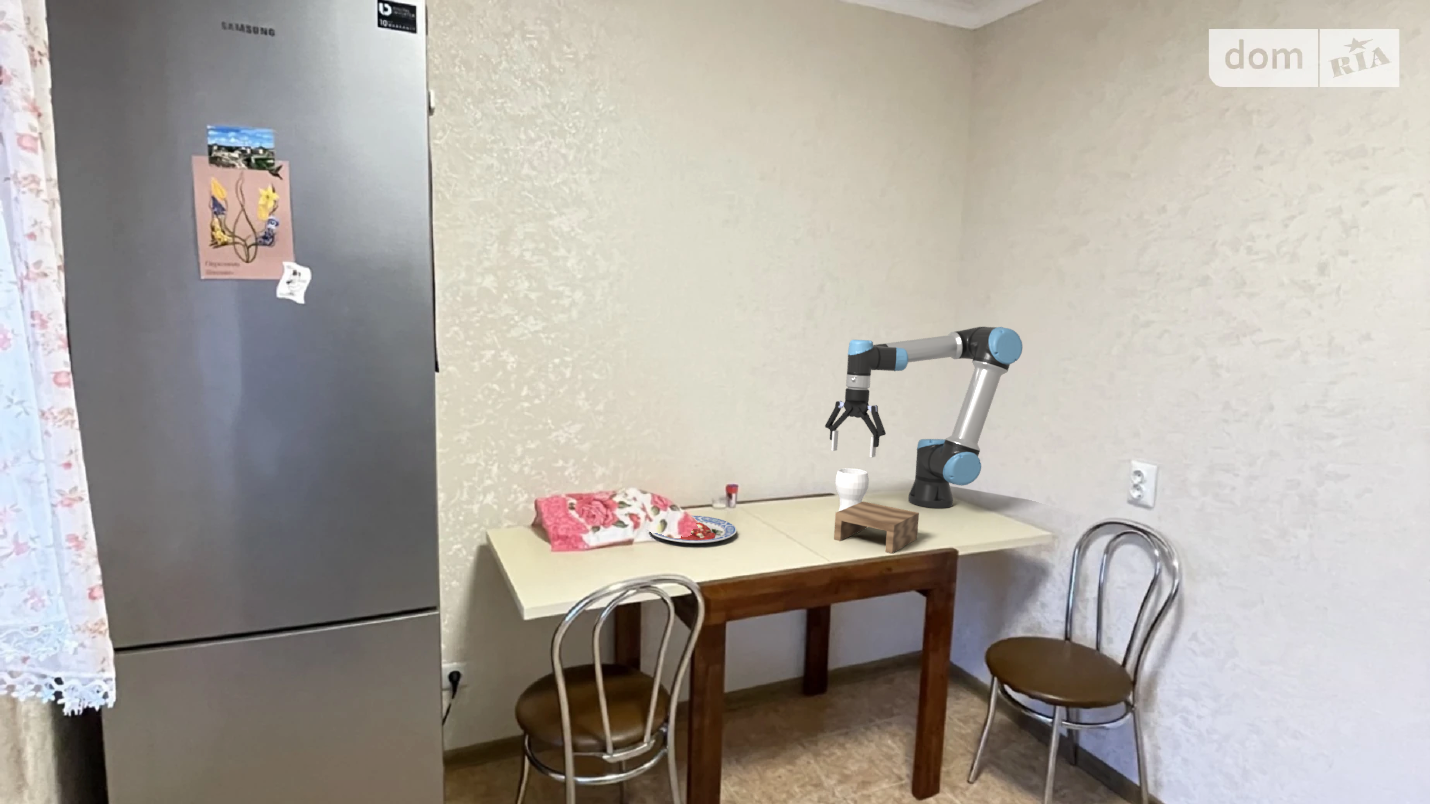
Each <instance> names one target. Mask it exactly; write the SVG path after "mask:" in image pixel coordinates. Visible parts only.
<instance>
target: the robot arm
mask: <svg viewBox="0 0 1430 804" xmlns="http://www.w3.org/2000/svg"><path fill="white" fill-rule="evenodd" d="M1022 353H1023V341H1022V338H1021V337H1020V334H1018V333H1017V332H1016V331H1015V330H1014V329H1011V328H1008V327H1003V326H998V327H997V326H996V327H995V326H977V327H971V328H968V329H963V330H956V331H951V332H950V333H949V334H948V335H941V336H931V337H925V338H919V339H918V338H917V339H910V340H909V339H908V340H902V341H901V340H900V341H893V342H886V343H876V344H874V341H872V340H869V339H868V340H867V339H851V340H850V341H849V344H848V350H847V368H846V380H845V381H846V383H845V386H846V389H845V392H844V393H845V394H844V395H845V396H844V402H843V401H842V400H836V401H835V403H834V404H835V406H834V408H833V410H832V412H831V414H830V415H829V417H828V419H827V421H826V423H825V425H824V427H825V428H826V429H828V430H829V441H831V449H830V451H831V452H835V451H838V444H839V443H838V440H839V430H838V428H839V427H840V426H841V425H842V424H843V423H844V422H845V421H846V420H847V418H849V417H850V418H851V417H852V418H857V419H859V418H861V420H862V421H863V422H864V424H865V425H866V427H867V428H868V430H869V431H870V433H871V435H872V436H871V437H870V445H869V446H870V448H869V458H875V457H876V453H877V452H876V451H877V448H878V447H879V446H880V437H883V436H886V431H885V427H884V424H883V422H882V420H881V416H880V414H879V405H877V404H874V405H869V401H870V390H869V388H871V375H872V371H886V372H887V371H889V372H900V371H901V372H903V371H904V370H905V369H907V366H908V364H909V363H915V362H922V361H930V360H931V361H932V360H939V359H946V358H951V359H953V360H958V359H962V360H963V359H967V360H972V362H971V363H972V365H973V367H974V369H973V371H972V372H973V373H972V376H971V379H970V381H969V384H968V387H967V390H966V393H965V395H964V399H963V402H962V405H961V406H960V407H961V408H960V410H959V413H958V416H957V419H956V422H955V425H954V428H953V431H952V433H951V435H950V436H948V437H946V438H945V439H943V438H922V439H919V441H918V442H917V446H916V460H915V475H914V482H913V484H912V486H911V488H910V491H909V493H908V502H909V503H911V504H913V505H916V506H920V507H924V508H932V509H933V508H934V509H948V508H950V507H953V504H954V497H953V494H952V490H951V486H950V484H952V485H955V486H968V485H969V484H972V483H973V482H974V481H976V480H977V478H978V477H979V475H981V474H980V473H981V472H982V462H981V459H980V458H979V455H980V453H981V448H980V447H979V444H978V443H979V440H980V438H981V434H982V431H983V429H984V426H985V423H986V421H987V418H988V414H989V413H990V409H991V406H992V403H993V400H994V397H995V394H996V391H997V389H998V385H999V383H1000V380H1001V377H1002V376H1003V375H1004V374H1006V373H1008V371H1009V368H1010V366H1011V365H1012V364H1014V363H1015V362H1017V361H1018V360H1019V359H1020V357H1021V355H1022ZM843 408H844V412H842V414H841V415H840V416H839V417H838V415H839V414H840V412H841V410H842V409H843ZM868 411H869V412H870V413H871V416H872V419H873V420H872V419H871V417H870V415H869V413H868ZM837 417H838V418H837ZM836 419H837V420H836Z"/></svg>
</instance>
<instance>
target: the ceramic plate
mask: <svg viewBox="0 0 1430 804" xmlns="http://www.w3.org/2000/svg"><path fill="white" fill-rule="evenodd" d="M691 516H692V517H693V518H695V519H696V520H697V521H698V523H696V524H697V526H698V528H700V529H701V530H702V531H701V530H700V529H693V530H692V531H691V534H692V535H690V536H688V537H682V536H681V538H670V537H667V536H664V535H662V534H658V533H652V534H651V535H653V536H655V537H656V538H659V539H662V540H667V541H672V542H677V543H682V544H708V543H714V542H719V541H723V540H727V539H729V538H731V537H733V536H734V535H735V534H736V533H737V528H736V526H735V525H734V524H732V523H731V522H728V521H727V520H724V519H720V518H717V517H712V516H711V517H710V516H704V515H692V514H691Z"/></svg>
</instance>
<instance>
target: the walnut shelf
mask: <svg viewBox="0 0 1430 804" xmlns="http://www.w3.org/2000/svg"><path fill="white" fill-rule="evenodd" d="M838 511H839V510H838ZM838 511H835V515H834V516H835V517H834V533H833V540H835V541H839V542H841V541H843V540H845V539H847V538H849V537H852V536H853V535H855V533H856V534H858V533H860V532H862V531H864V530H866V529H867V528H872V529H876V530H881V531H885V532H886V537H885V550H884V551H885V553H888V552H889V553H888V554H894V553H895V552H897V551H899V550H900V549H903V548H904V547H906V546H908V545H909V544H911V543H913V542H914V541H916V540H918V534H919V533H918V532H919V531H918V530H919V519H920V518H919V517H920V513H919V512H917V511H912V510H907V509H902V508H897V507H892V506H887V505H883V504H877V503H872V502H868V501H862V502H860V503H858V504H856V505H853V506H851V507H848V508H846V509H843V510H841V511H839V512H838ZM865 528H866V529H865ZM863 529H864V530H863ZM857 532H858V533H857ZM905 545H906V546H905ZM893 552H894V553H893Z"/></svg>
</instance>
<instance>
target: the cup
mask: <svg viewBox="0 0 1430 804" xmlns="http://www.w3.org/2000/svg"><path fill="white" fill-rule="evenodd" d="M834 482H835V489H836V492H837V494H838V497H839V508H838V511H837V512H839V511H841V510H843V509H846V508H848V507H851V506H853V505H856V504H858V503H860V502H863V498H864V497H865V496H866V494H867V491H868V489H869V483H870V479H869V473H868V471H866V470H864V469H860V468H854V467H853V468H851V467H850V468H849V467H845V468H839V469H837V473H836V475H835V481H834Z"/></svg>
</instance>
